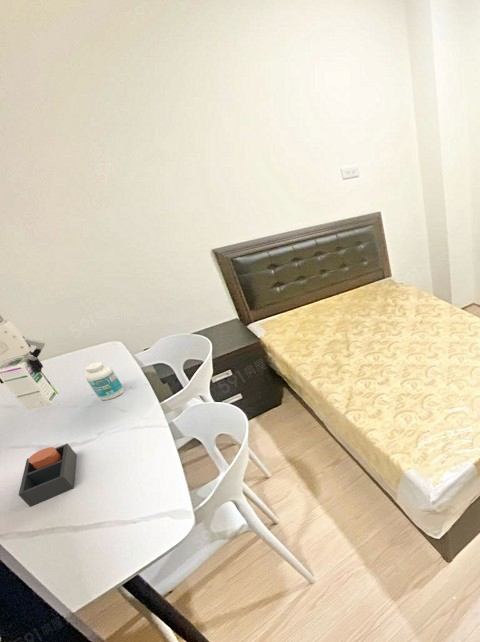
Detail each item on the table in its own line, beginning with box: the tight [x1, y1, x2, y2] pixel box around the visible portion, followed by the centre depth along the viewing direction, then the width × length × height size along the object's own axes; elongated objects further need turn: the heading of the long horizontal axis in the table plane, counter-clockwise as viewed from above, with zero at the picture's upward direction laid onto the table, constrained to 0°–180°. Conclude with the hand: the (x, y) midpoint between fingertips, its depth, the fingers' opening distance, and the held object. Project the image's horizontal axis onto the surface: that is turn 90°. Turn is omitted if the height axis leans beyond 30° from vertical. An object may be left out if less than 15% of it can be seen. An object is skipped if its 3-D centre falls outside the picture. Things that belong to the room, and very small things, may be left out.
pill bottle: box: [84, 361, 125, 401], centre depth 147 cm, size 8×7×14 cm
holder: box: [18, 443, 78, 508], centre depth 114 cm, size 9×17×6 cm, turn 41°
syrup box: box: [0, 356, 59, 411], centre depth 117 cm, size 6×6×14 cm
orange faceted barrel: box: [27, 446, 62, 470], centre depth 116 cm, size 6×6×7 cm
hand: (21, 375), depth 115 cm, fingers closed on syrup box, 6 cm apart
